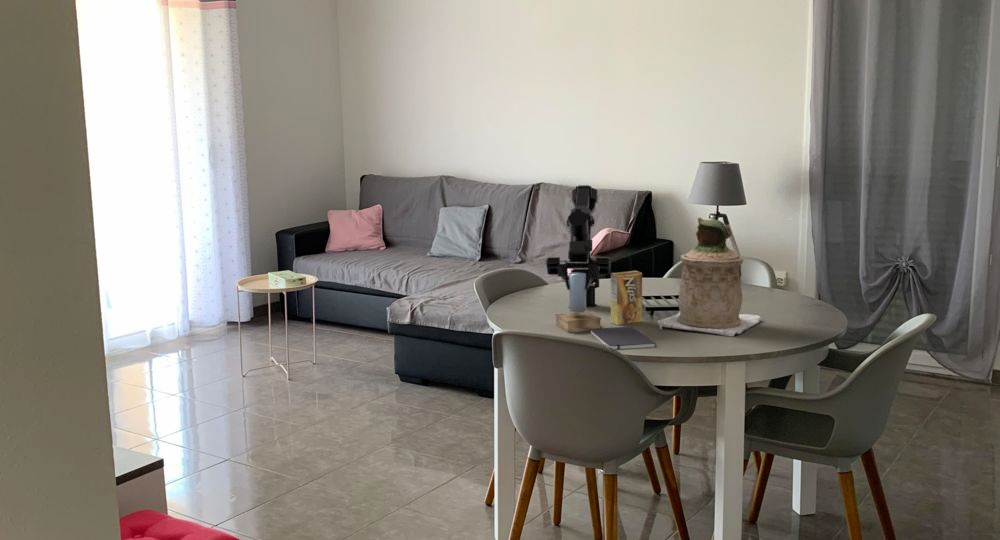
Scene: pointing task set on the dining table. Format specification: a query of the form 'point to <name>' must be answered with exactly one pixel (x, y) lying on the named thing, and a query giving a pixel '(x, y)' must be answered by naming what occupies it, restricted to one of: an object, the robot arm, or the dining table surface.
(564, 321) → the oak box
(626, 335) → the notebook
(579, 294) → the blue-grey rounded block
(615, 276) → the candy box
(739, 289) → the cookie jar
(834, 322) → the dining table surface
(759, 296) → the dining table surface
